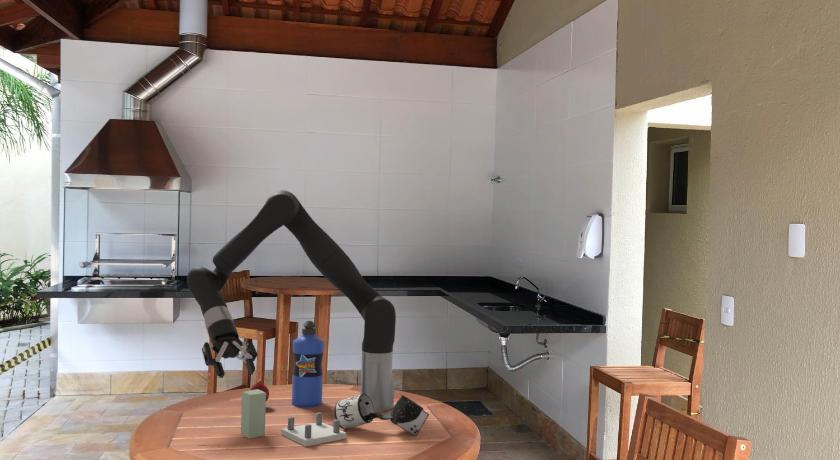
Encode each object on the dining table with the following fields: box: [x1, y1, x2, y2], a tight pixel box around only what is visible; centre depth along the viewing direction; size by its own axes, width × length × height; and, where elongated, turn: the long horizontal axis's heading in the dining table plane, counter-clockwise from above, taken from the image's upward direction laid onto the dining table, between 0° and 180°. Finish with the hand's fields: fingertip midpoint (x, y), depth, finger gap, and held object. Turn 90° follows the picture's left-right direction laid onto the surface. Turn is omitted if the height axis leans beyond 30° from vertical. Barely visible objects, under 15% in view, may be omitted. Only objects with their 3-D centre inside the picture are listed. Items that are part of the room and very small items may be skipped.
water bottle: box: [291, 320, 325, 408], centre depth 222 cm, size 9×9×25 cm
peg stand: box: [280, 412, 347, 447], centre depth 189 cm, size 12×12×4 cm
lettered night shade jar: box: [333, 393, 430, 437], centre depth 195 cm, size 25×10×10 cm, turn 85°
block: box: [240, 389, 267, 439], centre depth 189 cm, size 4×4×11 cm
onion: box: [249, 379, 270, 402], centre depth 216 cm, size 6×6×8 cm
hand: (237, 374), depth 196 cm, fingers open, 8 cm apart
